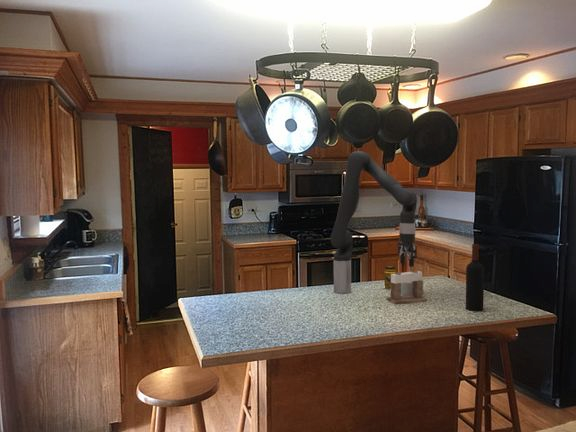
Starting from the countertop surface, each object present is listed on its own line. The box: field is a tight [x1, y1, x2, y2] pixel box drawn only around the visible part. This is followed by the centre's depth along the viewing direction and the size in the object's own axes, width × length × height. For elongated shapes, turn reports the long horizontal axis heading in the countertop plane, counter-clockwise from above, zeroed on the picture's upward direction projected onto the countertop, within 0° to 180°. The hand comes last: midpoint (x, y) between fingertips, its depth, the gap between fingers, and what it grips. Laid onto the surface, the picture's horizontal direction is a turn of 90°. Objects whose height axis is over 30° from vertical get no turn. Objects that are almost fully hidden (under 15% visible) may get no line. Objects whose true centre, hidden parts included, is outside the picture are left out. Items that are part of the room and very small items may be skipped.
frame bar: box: [391, 270, 423, 284], centre depth 237 cm, size 16×4×4 cm, turn 113°
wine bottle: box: [465, 243, 485, 312], centre depth 219 cm, size 8×8×30 cm
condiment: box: [380, 265, 397, 291], centre depth 263 cm, size 7×8×12 cm
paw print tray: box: [401, 282, 412, 295], centre depth 252 cm, size 10×13×9 cm
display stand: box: [386, 279, 428, 305], centre depth 238 cm, size 10×17×10 cm, turn 106°
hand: (406, 264), depth 236 cm, fingers open, 8 cm apart
